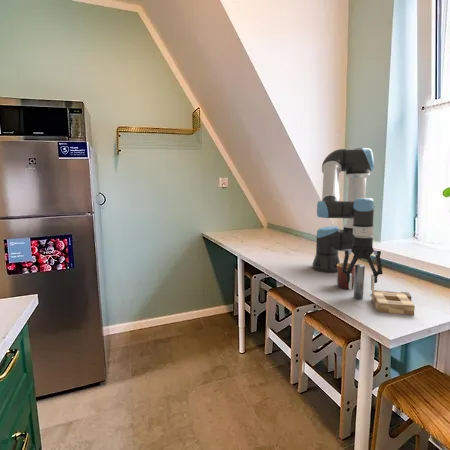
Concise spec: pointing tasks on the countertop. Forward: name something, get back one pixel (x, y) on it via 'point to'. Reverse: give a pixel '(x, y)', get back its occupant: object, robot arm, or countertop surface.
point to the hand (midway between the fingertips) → (361, 289)
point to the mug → (344, 276)
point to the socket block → (392, 303)
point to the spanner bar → (396, 292)
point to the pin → (359, 281)
